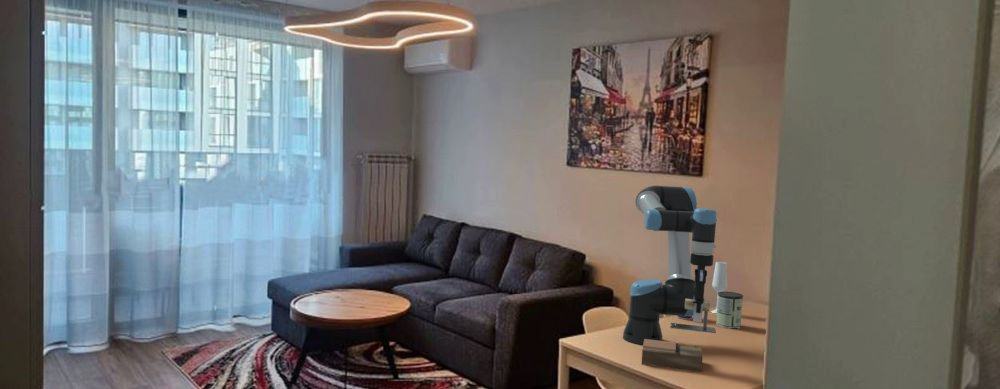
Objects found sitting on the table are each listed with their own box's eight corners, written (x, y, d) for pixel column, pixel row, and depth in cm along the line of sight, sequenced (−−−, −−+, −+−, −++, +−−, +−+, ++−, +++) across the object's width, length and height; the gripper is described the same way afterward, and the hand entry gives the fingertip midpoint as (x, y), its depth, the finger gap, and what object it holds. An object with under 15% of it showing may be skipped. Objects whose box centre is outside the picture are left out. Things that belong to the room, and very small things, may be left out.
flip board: (642, 354, 244) (643, 339, 244) (700, 361, 239) (701, 346, 239) (641, 364, 232) (642, 348, 232) (701, 371, 228) (702, 355, 227)
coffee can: (719, 321, 300) (721, 290, 299) (743, 325, 294) (745, 293, 293) (712, 325, 291) (715, 293, 290) (737, 330, 286) (740, 297, 285)
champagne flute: (707, 311, 319) (711, 261, 317) (721, 311, 319) (725, 261, 318) (713, 314, 312) (716, 263, 311) (727, 315, 313) (731, 264, 311)
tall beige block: (714, 328, 234) (716, 300, 234) (715, 333, 229) (718, 304, 228) (670, 323, 238) (672, 296, 237) (670, 328, 232) (672, 299, 232)
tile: (675, 342, 239) (675, 345, 240) (644, 338, 242) (643, 342, 242) (675, 349, 231) (675, 352, 231) (643, 345, 233) (642, 349, 234)
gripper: (715, 258, 223) (709, 327, 224) (712, 251, 238) (707, 316, 240) (691, 255, 224) (686, 324, 226) (690, 249, 240) (685, 314, 242)
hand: (697, 320), depth 233 cm, fingers closed on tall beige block, 3 cm apart
